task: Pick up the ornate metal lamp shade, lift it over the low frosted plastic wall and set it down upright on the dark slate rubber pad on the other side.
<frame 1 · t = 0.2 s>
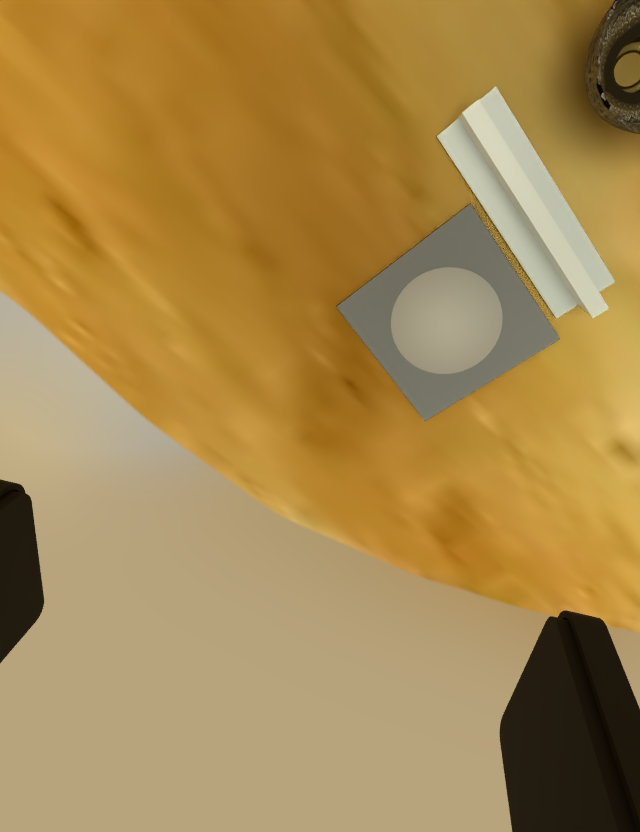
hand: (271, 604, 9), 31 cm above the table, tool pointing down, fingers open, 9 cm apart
rest pad: (445, 321, 37), on the table
low wall: (526, 210, 33), on the table
ornate metal lamp shade: (627, 70, 30), on the table
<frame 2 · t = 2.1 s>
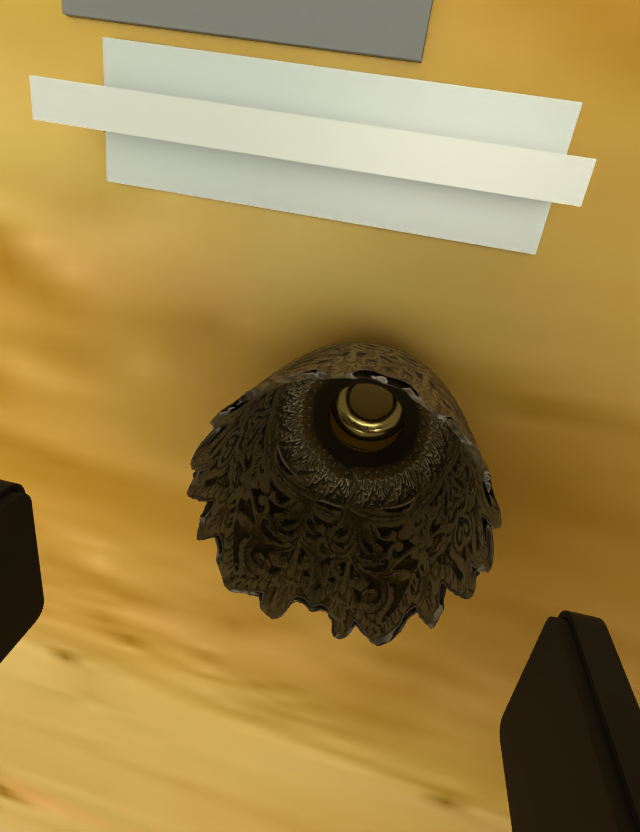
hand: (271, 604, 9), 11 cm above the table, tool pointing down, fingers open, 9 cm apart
low wall: (323, 147, 16), on the table
ornate metal lamp shade: (371, 397, 20), on the table
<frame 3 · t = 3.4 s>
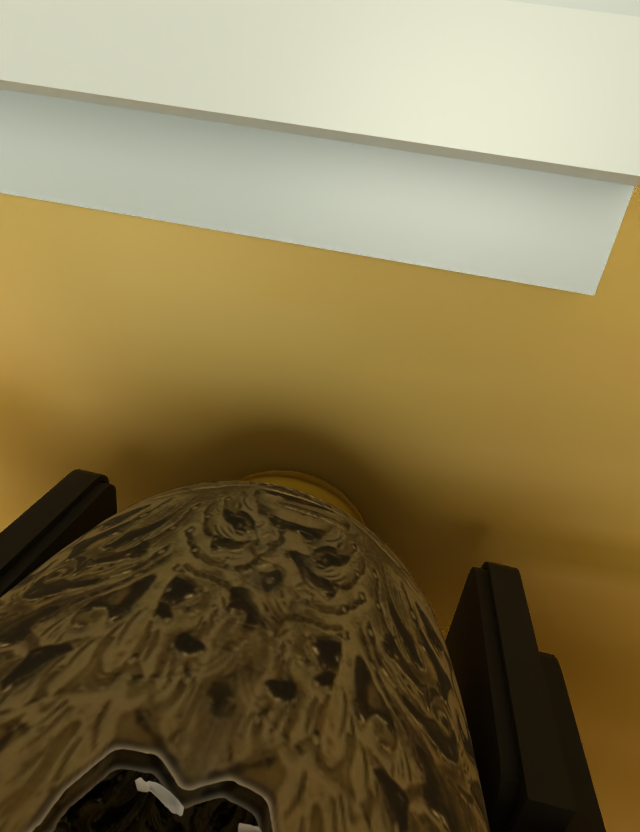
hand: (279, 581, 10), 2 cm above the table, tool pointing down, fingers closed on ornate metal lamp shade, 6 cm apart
low wall: (164, 78, 8), on the table
ornate metal lamp shade: (294, 524, 12), on the table, touching gripper
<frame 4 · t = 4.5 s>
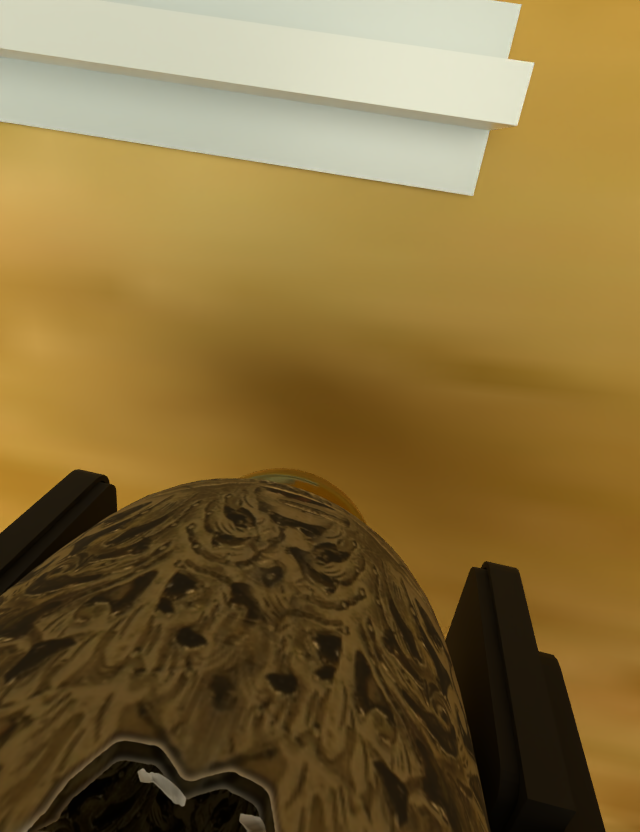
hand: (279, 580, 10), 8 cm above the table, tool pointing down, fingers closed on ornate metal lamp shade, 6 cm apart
low wall: (220, 68, 14), on the table
ornate metal lamp shade: (294, 522, 12), point 7 cm above the table, touching gripper
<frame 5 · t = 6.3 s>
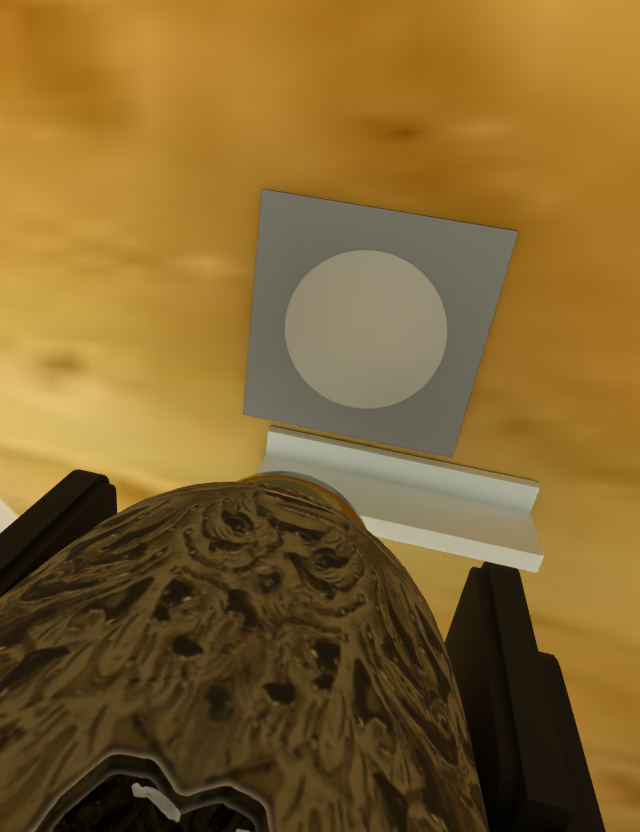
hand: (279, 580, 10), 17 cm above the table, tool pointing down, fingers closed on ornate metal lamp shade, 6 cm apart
rest pad: (364, 332, 25), on the table
low wall: (393, 485, 28), on the table
ornate metal lamp shade: (293, 524, 12), point 15 cm above the table, touching gripper
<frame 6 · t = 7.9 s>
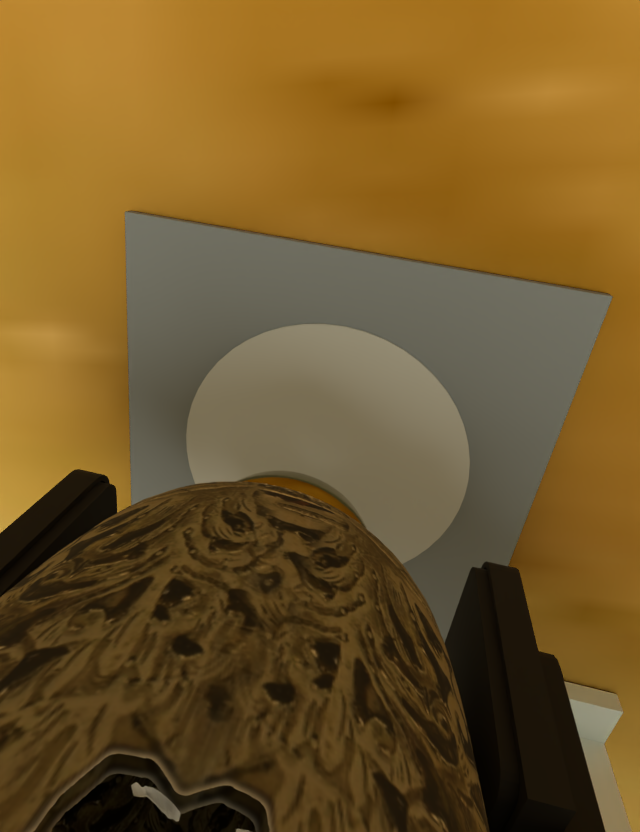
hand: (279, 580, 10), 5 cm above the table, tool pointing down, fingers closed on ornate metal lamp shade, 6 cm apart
rest pad: (324, 457, 14), on the table
low wall: (377, 680, 18), on the table
ornate metal lamp shade: (293, 524, 12), point 3 cm above the table, touching gripper
when the fingers open (3 cm above the table, at t = 9.2 s): ornate metal lamp shade drops 1 cm, resting on rest pad.
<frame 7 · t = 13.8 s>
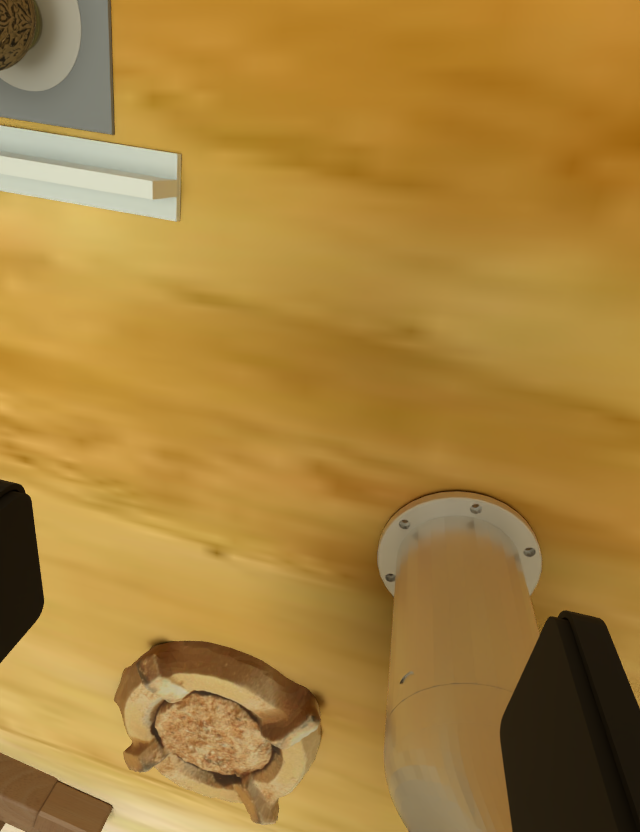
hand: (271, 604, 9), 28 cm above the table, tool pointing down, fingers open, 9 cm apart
rest pad: (25, 18, 32), on the table
wooden block set: (43, 800, 72), on the table
low wall: (80, 171, 35), on the table
ashtray: (224, 712, 57), on the table
ornate metal lamp shade: (22, 19, 32), resting on rest pad
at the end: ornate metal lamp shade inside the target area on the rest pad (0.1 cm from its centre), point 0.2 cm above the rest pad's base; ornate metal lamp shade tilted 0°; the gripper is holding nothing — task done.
